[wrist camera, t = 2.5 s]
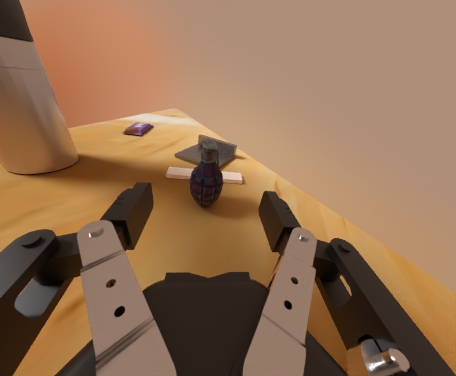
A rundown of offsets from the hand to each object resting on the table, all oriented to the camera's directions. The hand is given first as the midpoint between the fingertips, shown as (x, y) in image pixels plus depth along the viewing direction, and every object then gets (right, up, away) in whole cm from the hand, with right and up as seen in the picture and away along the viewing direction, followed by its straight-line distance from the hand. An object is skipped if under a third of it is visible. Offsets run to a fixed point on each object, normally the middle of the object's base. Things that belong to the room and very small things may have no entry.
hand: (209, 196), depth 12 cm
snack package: (-26, +18, +39) cm, 51 cm away
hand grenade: (-3, -2, +15) cm, 15 cm away
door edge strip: (-3, +3, +21) cm, 22 cm away
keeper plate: (-4, +9, +30) cm, 31 cm away
